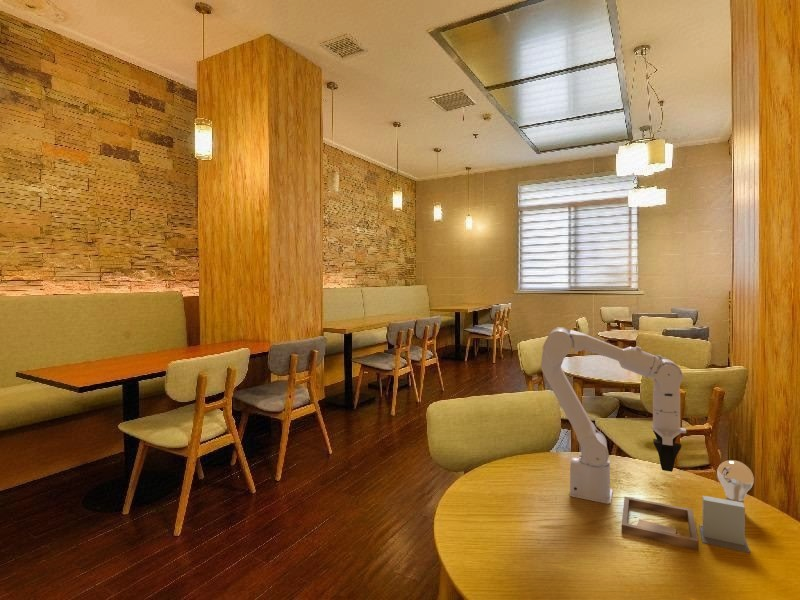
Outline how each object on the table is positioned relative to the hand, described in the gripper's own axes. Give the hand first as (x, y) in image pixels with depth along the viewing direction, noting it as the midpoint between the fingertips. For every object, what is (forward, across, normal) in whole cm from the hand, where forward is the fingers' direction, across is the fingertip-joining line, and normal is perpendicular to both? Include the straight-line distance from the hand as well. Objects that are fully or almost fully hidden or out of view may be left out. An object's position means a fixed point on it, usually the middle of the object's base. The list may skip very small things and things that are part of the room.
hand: (666, 464), depth 108 cm
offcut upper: (+10, -15, +2) cm, 18 cm away
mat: (+10, -11, -10) cm, 18 cm away
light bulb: (+10, +4, -14) cm, 18 cm away
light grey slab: (+10, -11, -10) cm, 18 cm away
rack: (+10, -11, +2) cm, 15 cm away
